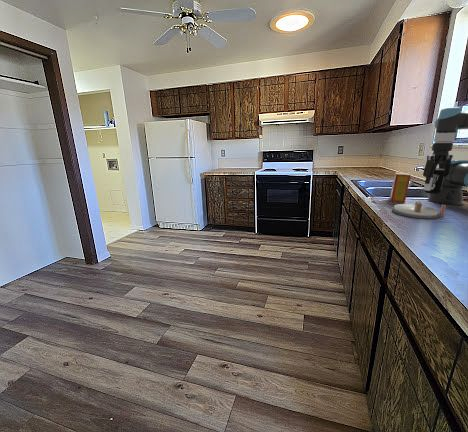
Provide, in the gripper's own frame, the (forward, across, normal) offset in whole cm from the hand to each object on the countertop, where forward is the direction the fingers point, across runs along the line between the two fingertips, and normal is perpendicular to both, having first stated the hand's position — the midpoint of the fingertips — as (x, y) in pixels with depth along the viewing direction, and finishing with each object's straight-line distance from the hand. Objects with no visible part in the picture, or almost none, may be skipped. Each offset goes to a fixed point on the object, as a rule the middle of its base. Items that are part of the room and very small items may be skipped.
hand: (432, 189), depth 124 cm
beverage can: (+2, 0, 0) cm, 2 cm away
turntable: (+8, +18, +7) cm, 20 cm away
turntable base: (+9, +18, +7) cm, 21 cm away
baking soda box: (+9, +3, -16) cm, 19 cm away
